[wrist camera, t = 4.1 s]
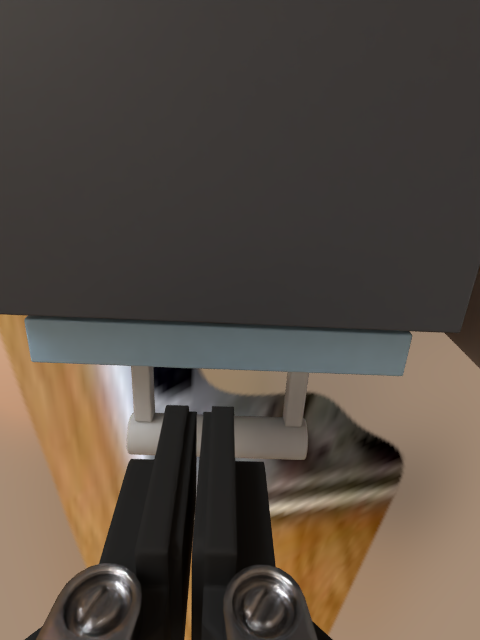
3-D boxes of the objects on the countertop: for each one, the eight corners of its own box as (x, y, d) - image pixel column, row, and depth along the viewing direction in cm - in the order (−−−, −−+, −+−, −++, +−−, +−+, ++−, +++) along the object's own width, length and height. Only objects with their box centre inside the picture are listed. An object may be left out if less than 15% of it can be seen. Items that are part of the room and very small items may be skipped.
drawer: (326, 388, 19) (369, 514, 13) (114, 380, 19) (55, 506, 13) (395, -47, 13) (544, -205, 7) (76, -68, 13) (-78, -254, 6)
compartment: (358, 238, 17) (460, 334, 9) (93, 226, 17) (-29, 313, 9) (425, -156, 12) (741, -622, 5) (55, -183, 12) (-269, -735, 4)
